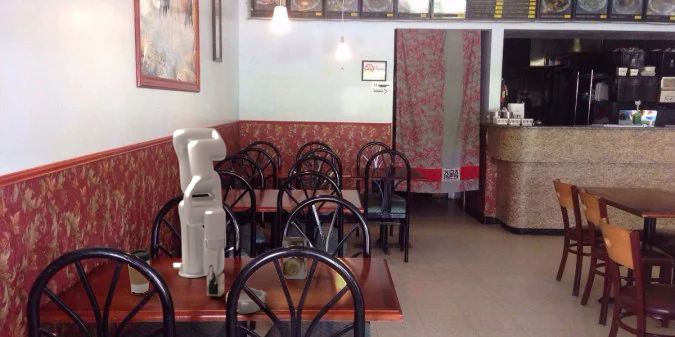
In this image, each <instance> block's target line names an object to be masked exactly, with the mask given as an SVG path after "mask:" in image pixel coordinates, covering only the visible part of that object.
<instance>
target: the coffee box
mask: <svg viewBox="0 0 675 337" xmlns="http://www.w3.org/2000/svg"><path fill="white" fill-rule="evenodd" d="M307 238H308V237H306V236H285V237H284V238H283V239H282V247H283V246H290V245H299V246H307V245H308V244H307V241H308V240H307ZM307 258H308V257H307ZM307 258H295V257H292V258H283V257H282V274H284V276H285V278H286V279H287V280H290V279H291V280H306V277H307V275H308V273H307V272H308V264H307V263H308V262H307V261H308V259H307Z"/></svg>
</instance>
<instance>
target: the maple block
mask: <svg viewBox="0 0 675 337" xmlns="http://www.w3.org/2000/svg"><path fill="white" fill-rule="evenodd" d="M213 275H215V274H213ZM213 278H214V280H215V277H213ZM217 284H218V294H217V295H214V294H209V281H208V275H207V276H206V296H208V297H222V295H223V294H224V292H225V272H222V273H220V274H219V275H218V276H217Z"/></svg>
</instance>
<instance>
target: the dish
mask: <svg viewBox="0 0 675 337" xmlns="http://www.w3.org/2000/svg"><path fill="white" fill-rule="evenodd" d="M249 288H250V289H251V290H252V291H253V292H254V293H255V294H256V295H257V296H258V297H259V299H260V300H261V301H263V302H264V303H266V298H267V292H266V291H263V290H262V289H259V290H257V289H256V288H254V287H249ZM228 293H229V291H228V292H227V293H226V295H225V302H227V297H228ZM259 311H260V308H259V306H258V305H257V304H256V303H255V302H254V301H253V300H251V299H250V298H249V297H248V296H247V294H246V293H245V292H244V291H242V292H241V294H240V298H239V300H238V313H237V314H251V313H252V314H253V313H256V312H259Z"/></svg>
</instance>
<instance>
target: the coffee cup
mask: <svg viewBox="0 0 675 337" xmlns="http://www.w3.org/2000/svg"><path fill="white" fill-rule="evenodd" d="M130 253H131V254H133V255H135V256H137V257H139V258H141V259H143V260H144V261H146V262H147V263H148V264H149V265H150V266H151V263H150V262H151V260H152V256H151V253H150V250H148V249H137V250H134V251H131V252H130ZM128 275H129V280H130V288H131V293H132V292H135V293H143V294H145V293H144V292H146V291H148V292H149V290H148V289H149V288H150V287H149V286H150V285H149V284H150V280H149V281H148V280H147V279H146V278H145V277H144V276H143V275H142V274H141V273H140V272H138V271H137V270H135V269H134V268H132V267H130V266H129V265H128ZM146 293H147V292H146Z"/></svg>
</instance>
